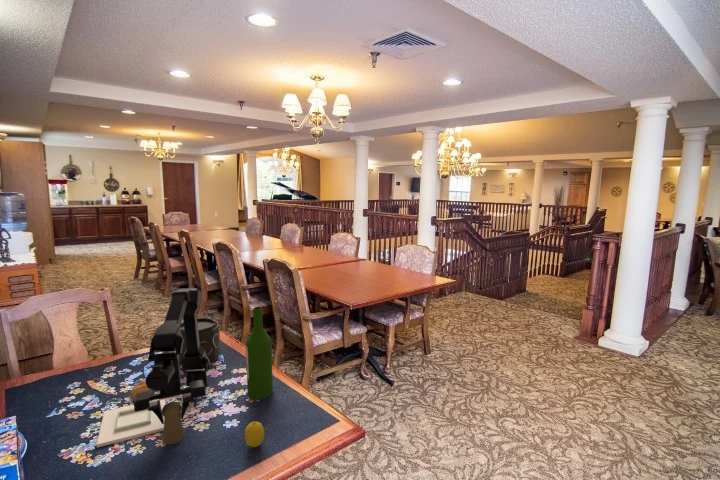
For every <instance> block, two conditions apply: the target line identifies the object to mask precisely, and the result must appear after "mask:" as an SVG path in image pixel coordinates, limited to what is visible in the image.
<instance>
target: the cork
mask: <svg viewBox="0 0 720 480" xmlns="http://www.w3.org/2000/svg"><path fill="white" fill-rule="evenodd" d="M181 406H182V403H180V402H179V401H170V402H167V403H165V405H164V407H163V409H162V414H163V416H164V430H163V431H162V432H163V433H162V442H163V444H165V445H174V444H177V443H179V442H181V441H182V440H183V439H184V438H185V437H186V436H185V435H186V434H185V430H184V426H183V422H182V421H183V420H182V419H181Z"/></svg>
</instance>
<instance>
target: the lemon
mask: <svg viewBox="0 0 720 480" xmlns="http://www.w3.org/2000/svg"><path fill="white" fill-rule="evenodd" d="M264 439H265V429H264V426H263V425H262V423H261V422H259V421H252V422H250V423H248V425H247V426H246V427H245V430H244V440H245V443H246V444H247V446H248V447H250V448H256V447H259V446H260V445H261V444H262V443H263V441H264Z"/></svg>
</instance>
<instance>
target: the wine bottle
mask: <svg viewBox="0 0 720 480" xmlns="http://www.w3.org/2000/svg"><path fill="white" fill-rule="evenodd" d="M252 311H253V329H252V331H251V333H250V334H249V336H248V337H247V338H246V341H245V342H246V343H245V358H246V359H245V362H246V386H247V388H246V389H247V396H248V398H249V399H251V400H255V401H260V400H261V399H262V400H265V399H268V398H269V397H270V396H272V394H273V392H274V391H273V389H274V388H273V387H274V386H273V355H272V354H273V353H272V350H273V349H272V348H273V347H272V339H271V337H270V336H269V334H268V333H267V332H266V330H265V329H264V326H263V325H264V324H263V308H262V307H261V306H256V307H253V309H252ZM267 397H268V398H267Z"/></svg>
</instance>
